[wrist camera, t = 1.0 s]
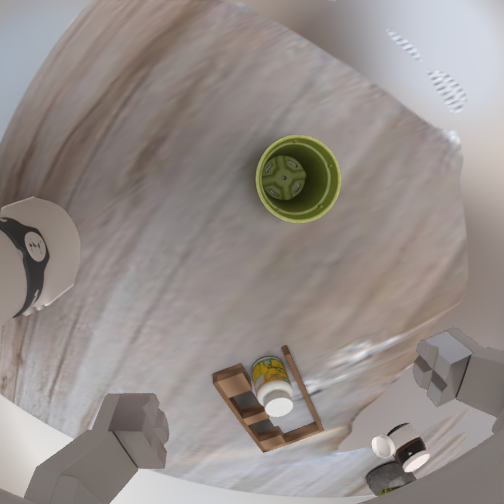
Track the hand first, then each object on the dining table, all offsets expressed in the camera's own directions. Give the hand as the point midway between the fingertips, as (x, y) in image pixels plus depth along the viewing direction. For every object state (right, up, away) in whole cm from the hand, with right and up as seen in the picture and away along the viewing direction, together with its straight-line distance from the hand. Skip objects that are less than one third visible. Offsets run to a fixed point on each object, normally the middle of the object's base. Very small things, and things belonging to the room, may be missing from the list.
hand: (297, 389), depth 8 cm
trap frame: (+2, -23, +41) cm, 47 cm away
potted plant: (+37, -59, +55) cm, 89 cm away
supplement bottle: (+1, -15, +39) cm, 41 cm away
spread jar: (+33, -41, +49) cm, 72 cm away
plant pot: (+3, +14, +31) cm, 34 cm away
